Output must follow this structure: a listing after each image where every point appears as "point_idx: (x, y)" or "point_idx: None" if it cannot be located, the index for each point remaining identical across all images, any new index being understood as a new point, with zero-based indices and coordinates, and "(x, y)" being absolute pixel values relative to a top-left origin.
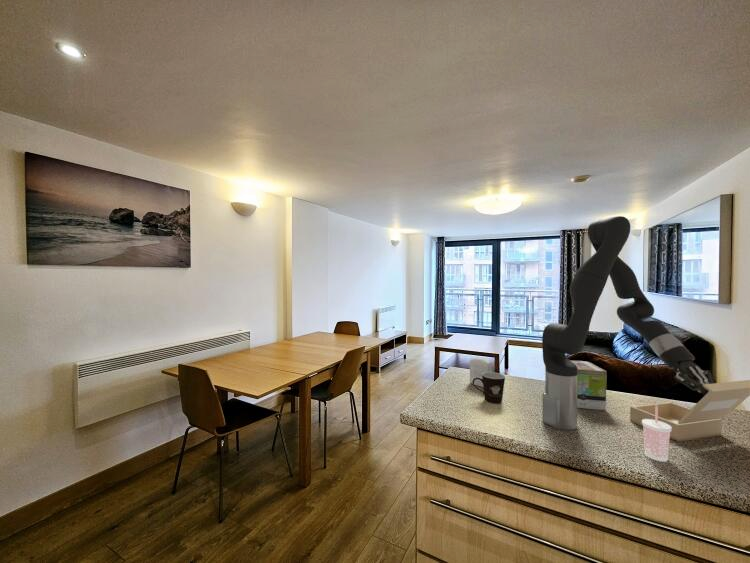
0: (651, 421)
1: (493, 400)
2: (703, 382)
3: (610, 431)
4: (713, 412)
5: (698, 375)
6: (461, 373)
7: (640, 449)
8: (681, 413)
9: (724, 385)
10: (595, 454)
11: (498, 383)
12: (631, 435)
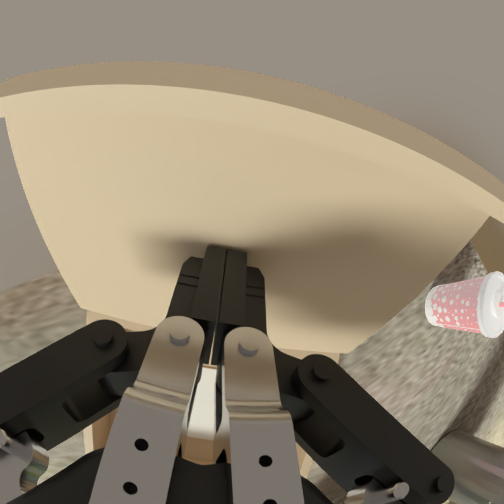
0: (500, 315)
1: None
2: (190, 400)
3: (404, 424)
4: None
5: (239, 481)
6: None
7: (435, 338)
8: (102, 421)
9: (387, 127)
10: (492, 342)
11: None
12: (386, 400)
